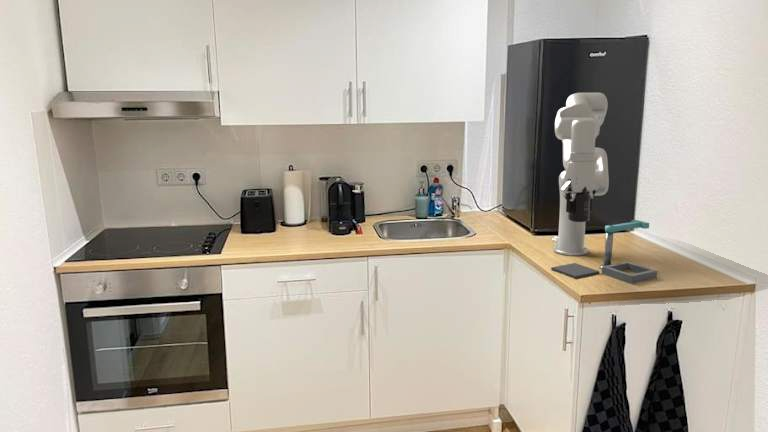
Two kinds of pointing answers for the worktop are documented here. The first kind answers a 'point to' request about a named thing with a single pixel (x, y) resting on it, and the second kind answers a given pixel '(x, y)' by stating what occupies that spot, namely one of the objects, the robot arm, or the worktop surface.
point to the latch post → (608, 250)
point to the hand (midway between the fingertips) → (578, 210)
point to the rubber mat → (575, 270)
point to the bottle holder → (617, 272)
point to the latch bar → (626, 226)
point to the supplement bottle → (581, 207)
